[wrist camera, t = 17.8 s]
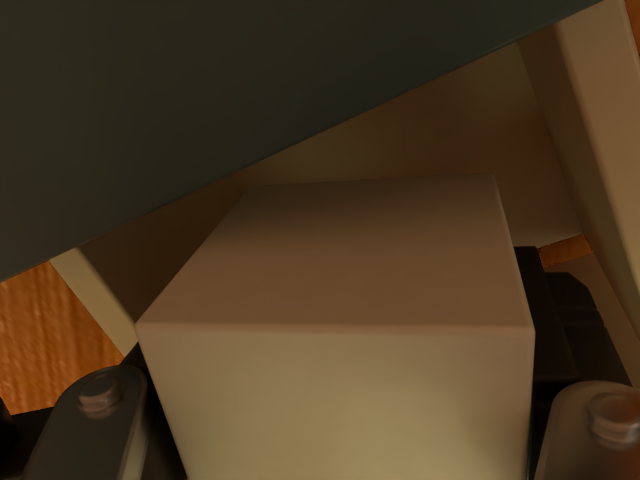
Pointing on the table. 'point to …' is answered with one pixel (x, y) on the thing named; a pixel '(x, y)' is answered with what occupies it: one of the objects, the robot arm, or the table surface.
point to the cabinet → (201, 94)
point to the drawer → (446, 171)
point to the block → (349, 336)
